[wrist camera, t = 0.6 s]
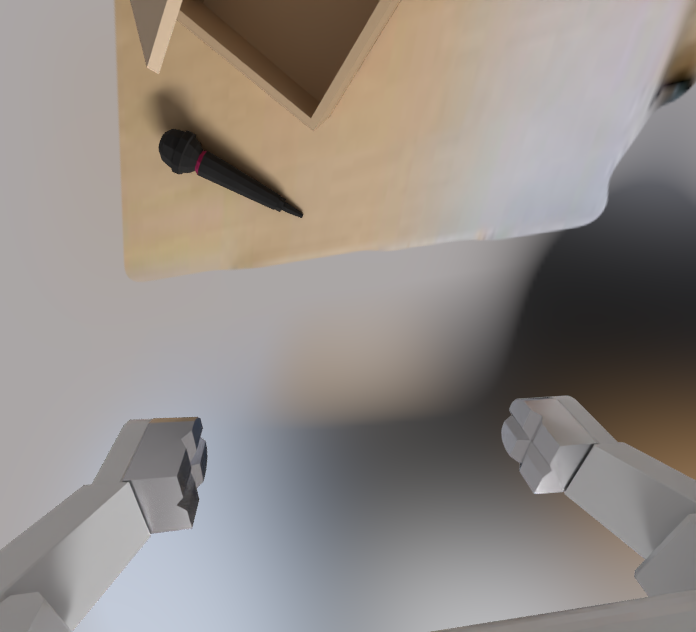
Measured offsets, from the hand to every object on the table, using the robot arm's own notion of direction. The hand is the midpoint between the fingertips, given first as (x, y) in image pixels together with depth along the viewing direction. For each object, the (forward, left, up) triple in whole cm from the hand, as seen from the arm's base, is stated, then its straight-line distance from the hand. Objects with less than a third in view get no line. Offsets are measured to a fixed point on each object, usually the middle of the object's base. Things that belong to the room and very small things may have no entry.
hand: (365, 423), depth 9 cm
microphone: (+2, -20, -45) cm, 49 cm away
